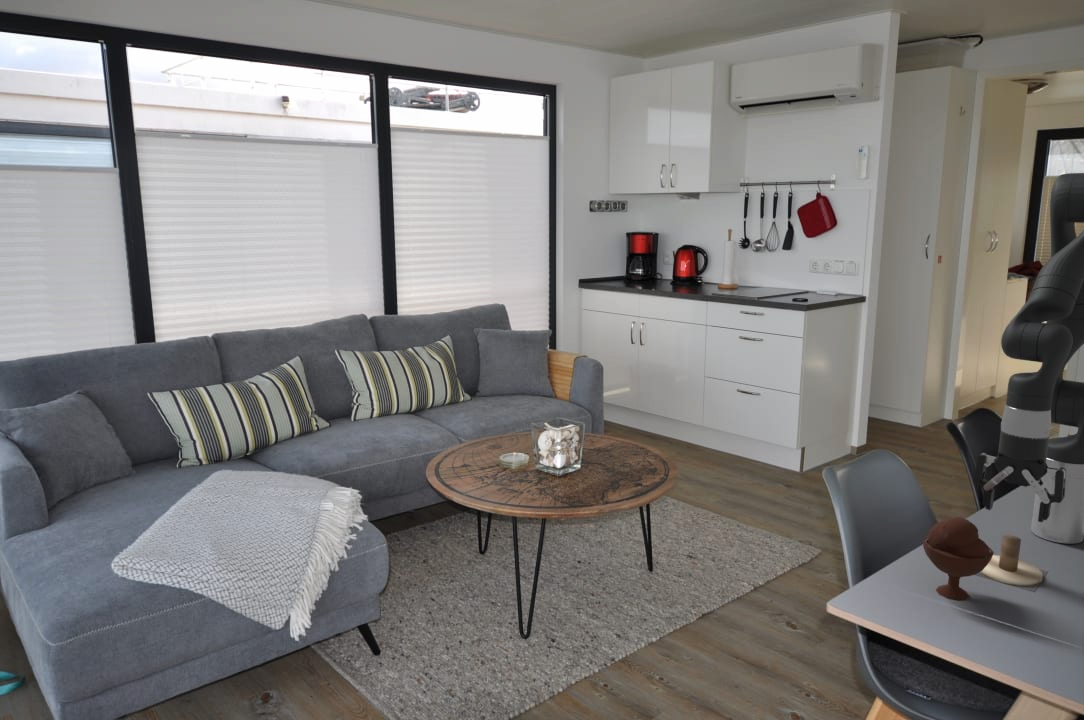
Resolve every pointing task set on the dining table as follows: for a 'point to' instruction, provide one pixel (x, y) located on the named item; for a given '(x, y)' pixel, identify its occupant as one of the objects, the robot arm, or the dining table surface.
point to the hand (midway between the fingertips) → (1014, 514)
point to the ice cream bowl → (956, 553)
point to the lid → (1011, 565)
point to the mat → (1029, 588)
